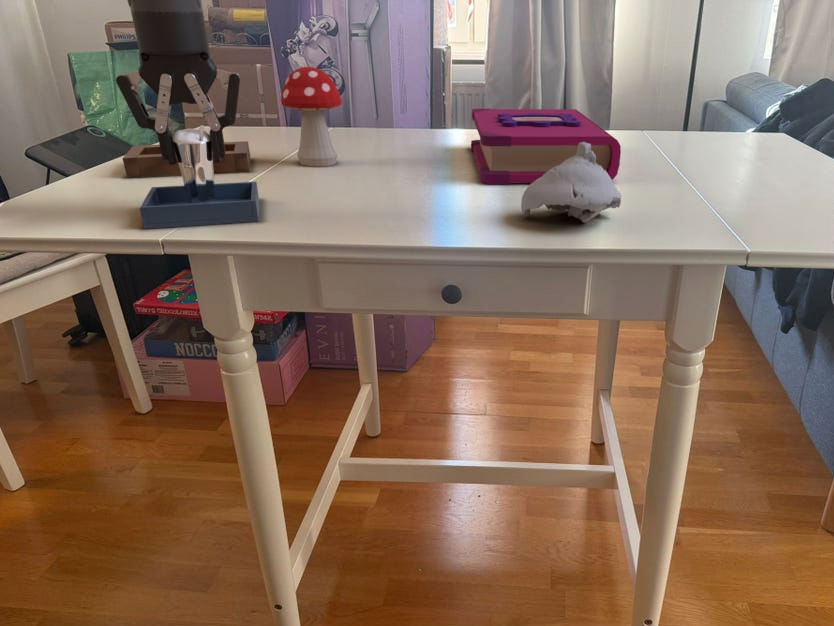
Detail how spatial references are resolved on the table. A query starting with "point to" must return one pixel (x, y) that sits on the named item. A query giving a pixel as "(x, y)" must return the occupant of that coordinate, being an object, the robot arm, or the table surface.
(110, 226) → the table surface
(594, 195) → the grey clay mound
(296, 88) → the decorative mushroom
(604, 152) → the book
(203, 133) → the milkshake
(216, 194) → the tray
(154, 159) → the tray
